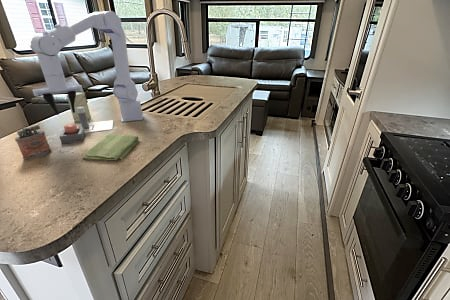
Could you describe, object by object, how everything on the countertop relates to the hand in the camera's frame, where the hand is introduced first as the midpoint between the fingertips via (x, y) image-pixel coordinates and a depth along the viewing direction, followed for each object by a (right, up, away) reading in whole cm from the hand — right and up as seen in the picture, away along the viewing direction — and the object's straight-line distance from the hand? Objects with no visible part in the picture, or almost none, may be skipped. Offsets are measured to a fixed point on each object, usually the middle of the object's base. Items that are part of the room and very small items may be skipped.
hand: (66, 113), depth 88 cm
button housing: (0, -9, +5) cm, 10 cm away
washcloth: (+19, -14, -3) cm, 24 cm away
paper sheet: (+1, -4, +15) cm, 16 cm away
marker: (-1, -4, +14) cm, 15 cm away
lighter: (-5, -16, -7) cm, 18 cm away
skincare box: (-9, +1, +25) cm, 26 cm away
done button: (0, -7, +3) cm, 7 cm away
